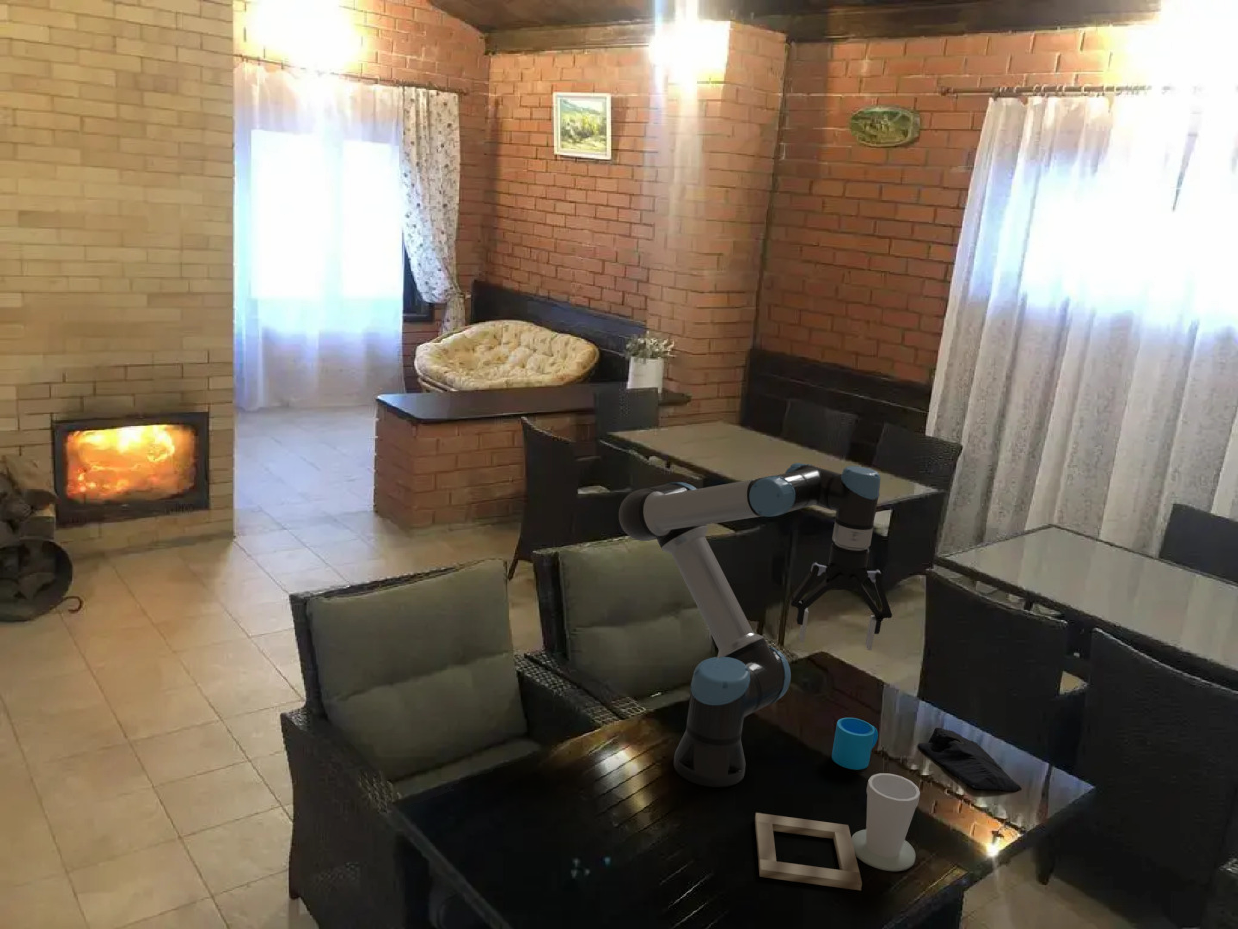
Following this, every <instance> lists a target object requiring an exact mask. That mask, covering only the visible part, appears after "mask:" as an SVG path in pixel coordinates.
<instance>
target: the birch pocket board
mask: <svg viewBox="0 0 1238 929" xmlns="http://www.w3.org/2000/svg"><path fill="white" fill-rule="evenodd" d="M754 825H755V836H756V848H757V849H756V850H757V859H758V860H757V862H758V872H759V874H758V875H759V878H760V877H761V878H768V879H775V880H782V881H788V882H796V883H804V884H811V885H816V886H817V885H819V886H825V887H826V886H827V887H834V888H840V889H845V890H856V891H862V886H863V882H862V878H861V872H860V869H859V866H858V865H859V864H858V861H857V857H856V855H855V851H854V847H853V843H852V839H851V838H852V836H851V830H850V827H849V824H842V823H836V822H835V823H834V822H828V821H827V822H826V821H819V820H812V819H804V818H800V817H799V818H797V817H788V816H783V815H776V814H775V815H774V814H769V813H761V812H755V816H754ZM774 832H780V833H787V834H795V835H803V836H810V837H817V838H823V839H824V838H825V839H831V840H833V842H834V843H833V844H834V847H835V851H836V857H837V862H838V866H839V869H836V868H835V869H834V868H828V867H822V866H821V867H819V866H814V865H813V866H812V865H805V864H800V863H799V864H798V863H792V862H791V863H790V862H783V861H777V856H776V854H777V853H776V847H775V837H774V836H775V835H774Z"/></svg>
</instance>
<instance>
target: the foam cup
mask: <svg viewBox="0 0 1238 929" xmlns="http://www.w3.org/2000/svg"><path fill="white" fill-rule="evenodd" d="M866 795H867V796H866V797H867V798H866V823H865V824H866V825H865V826H866V828H865V829H866V845H867V848H868V849H869V850H870V851H871V852H872V853H874V854H876V855H877V856H881V857H884V858H894V857H896V856H898V855H899V853H900V851H901V848H902V846H903V843H904V840H906V837H907V833H908V831H909V827H910V825H911V822H912V820H913V818H914V814H915V811H916V809H917V807H918V805H919V802H920V796H921V792H920V789H919V786H917V785H916V784H915V783H914V782H913V781H912V780H910V779H908V778H906V777H903V776H902V775H897V774H894V773H881V772H880V773H875V774H872V775H871V776H870V777H869V779H868V781H867V786H866Z"/></svg>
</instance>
